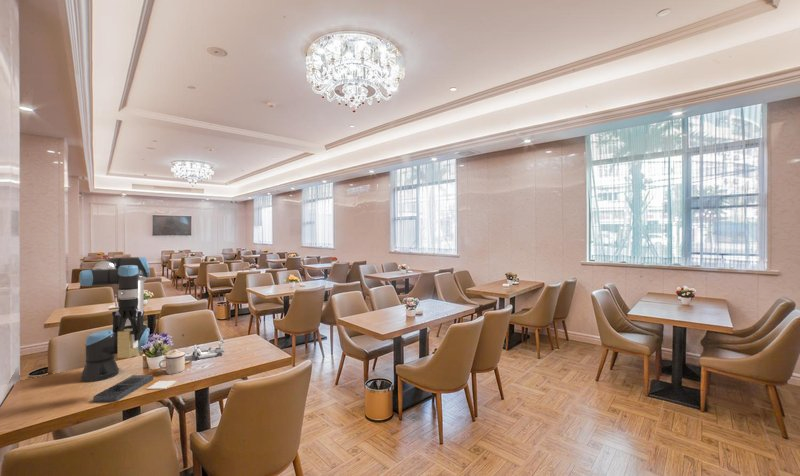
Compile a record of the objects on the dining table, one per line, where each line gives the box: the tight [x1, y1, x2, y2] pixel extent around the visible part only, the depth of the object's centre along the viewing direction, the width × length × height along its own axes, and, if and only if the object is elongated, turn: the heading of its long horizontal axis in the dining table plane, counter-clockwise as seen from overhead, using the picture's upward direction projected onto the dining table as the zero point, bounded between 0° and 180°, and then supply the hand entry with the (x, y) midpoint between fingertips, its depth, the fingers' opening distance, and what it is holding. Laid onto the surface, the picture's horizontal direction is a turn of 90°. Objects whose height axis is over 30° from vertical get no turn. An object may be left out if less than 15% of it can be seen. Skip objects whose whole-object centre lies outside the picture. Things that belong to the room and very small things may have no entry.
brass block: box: [117, 329, 139, 359], centre depth 165 cm, size 6×6×12 cm
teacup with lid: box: [158, 348, 186, 375], centre depth 191 cm, size 12×9×12 cm
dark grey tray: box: [92, 374, 154, 403], centre depth 168 cm, size 10×24×3 cm, turn 2°
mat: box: [146, 380, 177, 390], centre depth 173 cm, size 9×9×1 cm
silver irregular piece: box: [192, 338, 226, 362], centre depth 218 cm, size 18×10×12 cm
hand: (128, 347), depth 165 cm, fingers closed on brass block, 5 cm apart
